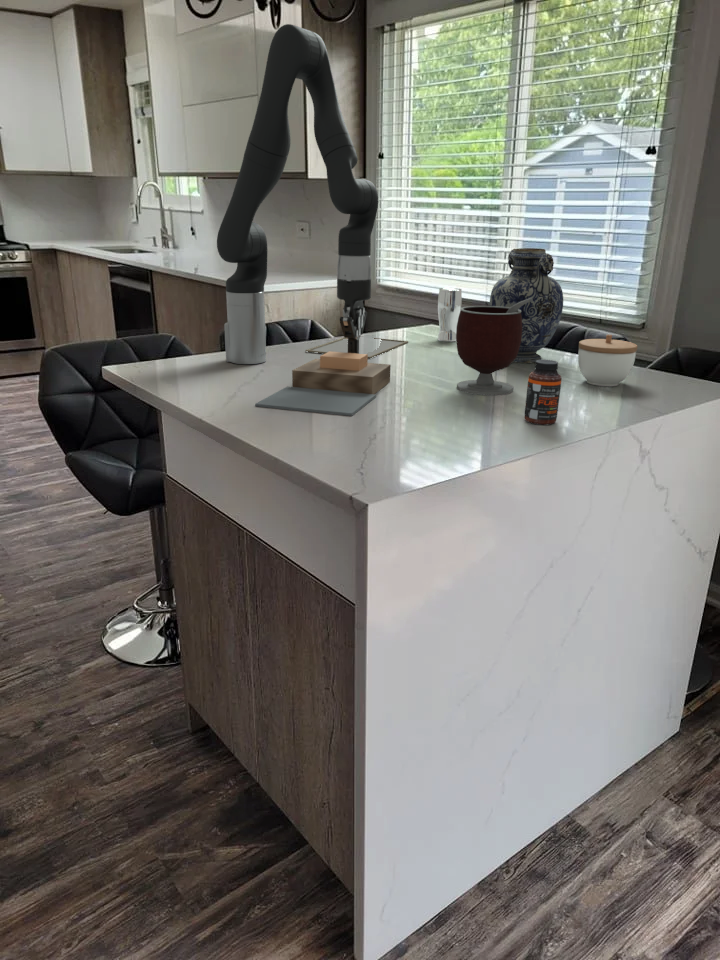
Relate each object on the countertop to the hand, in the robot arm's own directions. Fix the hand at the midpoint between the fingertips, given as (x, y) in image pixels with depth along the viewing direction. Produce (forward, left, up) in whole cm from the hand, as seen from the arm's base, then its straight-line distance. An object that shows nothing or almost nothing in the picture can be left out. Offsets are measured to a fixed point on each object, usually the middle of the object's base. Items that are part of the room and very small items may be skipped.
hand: (353, 355), depth 166 cm
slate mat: (0, -23, -5) cm, 23 cm away
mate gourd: (+31, +1, -6) cm, 31 cm away
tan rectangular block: (0, -6, 0) cm, 6 cm away
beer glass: (+10, +61, -6) cm, 62 cm away
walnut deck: (0, -7, -5) cm, 9 cm away
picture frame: (-11, +39, -6) cm, 41 cm away
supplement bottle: (+44, -22, -6) cm, 49 cm away
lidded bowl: (+55, +17, -6) cm, 58 cm away
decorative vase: (+34, +39, -6) cm, 52 cm away
